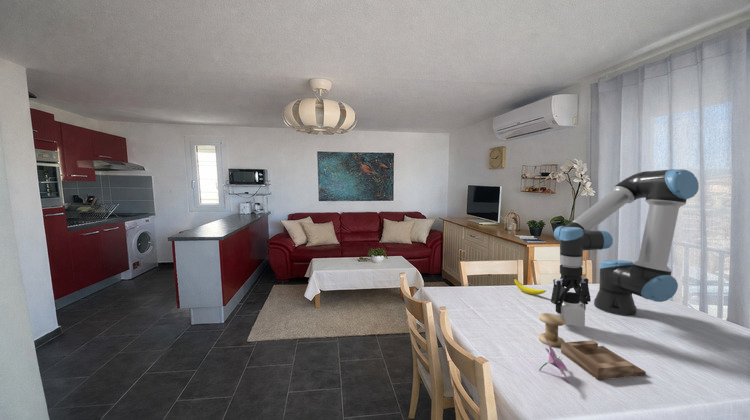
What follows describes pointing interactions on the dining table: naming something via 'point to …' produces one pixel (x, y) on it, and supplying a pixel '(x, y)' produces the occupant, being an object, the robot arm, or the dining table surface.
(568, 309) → the medicine bottle
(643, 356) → the dining table surface
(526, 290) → the banana
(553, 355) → the lily
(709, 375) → the dining table surface
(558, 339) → the bobbin
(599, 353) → the notched board
